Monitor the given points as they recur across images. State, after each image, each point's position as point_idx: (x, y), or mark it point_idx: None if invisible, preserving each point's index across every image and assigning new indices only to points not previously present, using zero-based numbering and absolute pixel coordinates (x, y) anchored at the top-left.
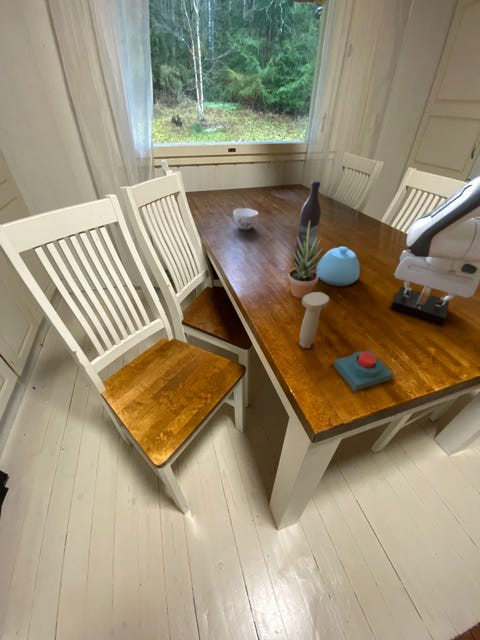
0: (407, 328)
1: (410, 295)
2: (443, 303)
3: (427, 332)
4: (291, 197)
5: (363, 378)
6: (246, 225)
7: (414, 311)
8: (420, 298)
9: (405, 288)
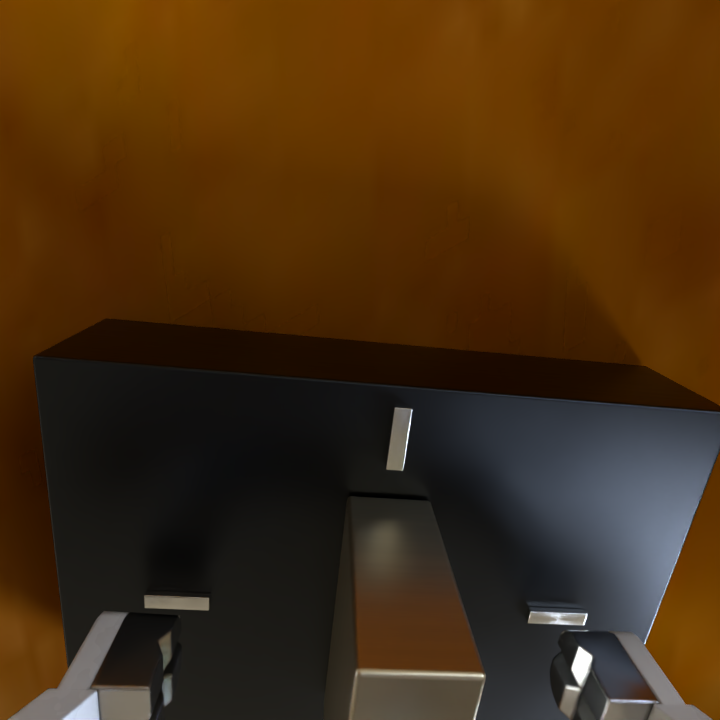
0: (468, 42)
1: (502, 655)
2: (102, 635)
3: (230, 87)
4: None
5: None
6: None
7: (435, 370)
8: (452, 578)
9: (704, 715)
